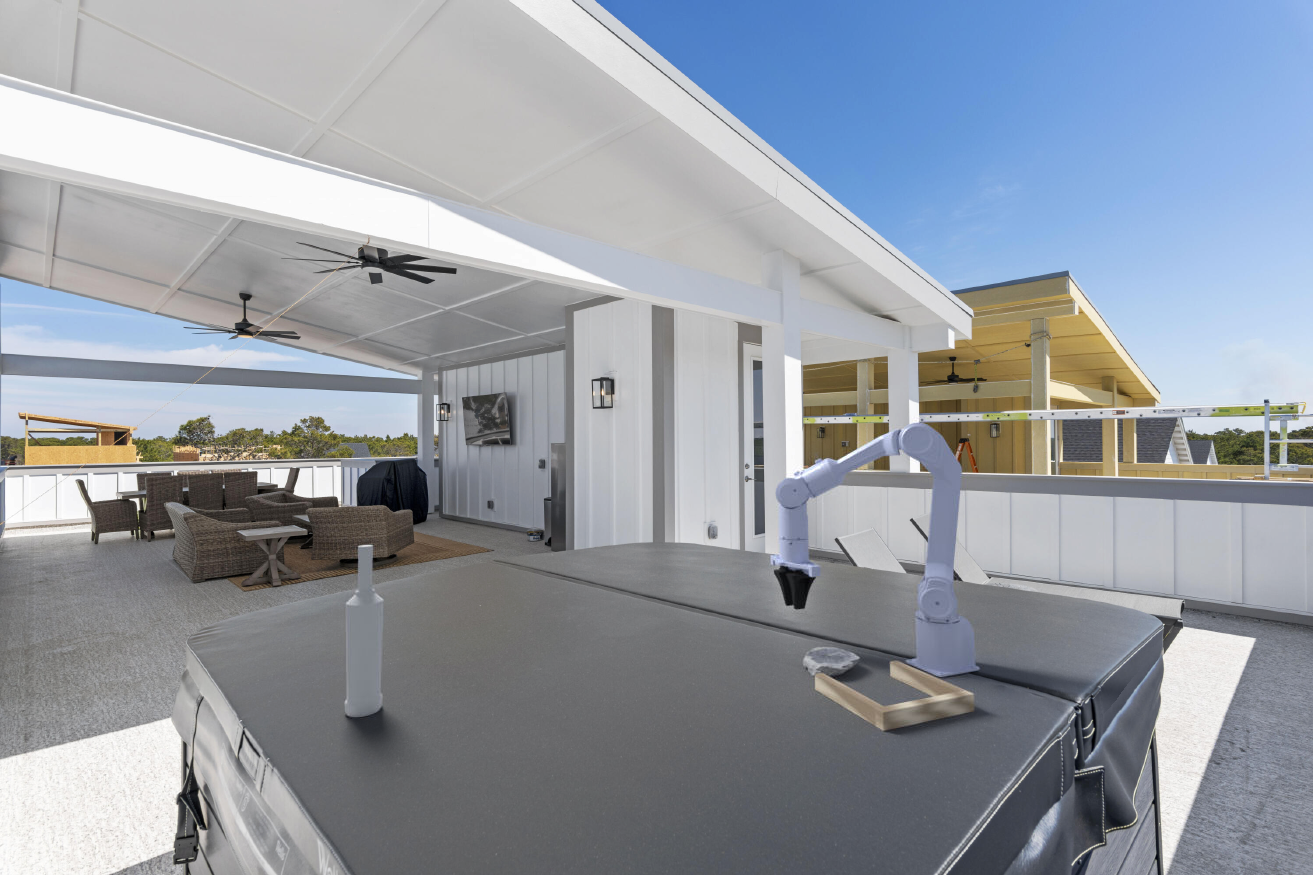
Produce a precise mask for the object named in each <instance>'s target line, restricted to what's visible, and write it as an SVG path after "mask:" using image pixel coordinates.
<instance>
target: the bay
mask: <svg viewBox="0 0 1313 875" xmlns="http://www.w3.org/2000/svg"><path fill="white" fill-rule="evenodd" d="M889 669H890V670H889V674H890V678H893V679H895V680H897V681H900V682H901V683H903V684H906V685H907V686H910V687H912V688H914V689H916V690H918V691H920V692H922V693H924V694H926V695H928V696H930V697H925V698H921V699H913V700H909V701H905V702H898V703H895V704H890V705H882V704H881V703H878V702H876V701H874V700H873V699H871V698H869V697H867V696H866V695H864V694H863V693H860V692H859V691H856V690H855V689H852V688H851V687H849V686H847V685H845V684H843V683H842V682H840V681H839V680H836V679H835V678H833V677H829V676H827V675H826V674H824V673H819V674H815V677H814V689H815V691H817V692H818V693H820V694H822V695H823V696H825V697H827V698H829V699H830V700H832V701H833V702H835V703H836V704H839V705H840V706H842V707H843V708H844V709H846V710H848V711H850V712H852V713H853V714H855V716H858V717H860V719H861V718H862V719H863V720H865V721H866V722H868V723H870V724H872V725H873V726H875V727H876V728H878V729H880V730H881V731H883V732H884V731H885V732H886V731H888V730H889V731H890V730H894V729H899V728H903V727H909V726H913V725H918V724H921V723H922V724H923V723H926V722H930V721H936V720H940V719H945V718H950V717H955V716H959V715H964V714H967V713H968V714H969V713H972V712H975V708H976V707H975V693H974V692H970V691H968V690H965V689H963V688H962V687H959V686H957V685H954V684H952V683H949V682H947V681H945V680H942V679H940V678H939V677H937V676H935V675H932V674H930V673H928V672H925V671H923V670H921V669H918V668H916V667H914V666H913V667H912V666H911V665H909V664H907V663H906V664H905V663H903V662H901V661H899V660H893V661H892V660H891V661H889Z"/></svg>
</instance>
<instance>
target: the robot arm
mask: <svg viewBox="0 0 1313 875" xmlns="http://www.w3.org/2000/svg"><path fill="white" fill-rule="evenodd" d="M949 446H950V445H948V443H947V441H946V440H945V438H944V437H943V435H942V434H940V433H939V432H938V431H936V429H934V428H933V427H932V426H930V425H929V424H926V423H924V422H913V423H909V424H908V425H906V426H905V427H904V428H903V429H901V428H898V429H895V430H892V431H889V432H887V433H885V434H882V435H879V436H877V437H876V438H874V439H872V441H869V442H867V443H865V444H864V445H862V446H860V447H858V448H856V449H855V450H854V451H851V452H850V453H848V454H846V455H845V456H843V457H840V458H839V459H837V460H835V459H832V458H829V457H827V458H825V459H822V458H818V459H816V460H815V461H814V463H815V464H813V465H812V466H810V467H807V468H806V469H804V470H802V471H799V470H797V471H795V472H794V473H793V475H794V477H786V478H784V479H783V480H782V481H780V482H779V483H778V485H777V486H776V488H775V498H776V500H777V502H778V548H779V551H778V553H779V554H774V555H773V554H771V555H770V566H771V565H772V566H778V567H779V568H778V569H773V574H774V575H775V578H776V579H777V582H778V584H779V588H780V590H781V592H782V597H783V600H784V604H785V606H786V607H790V606H793V609H794V610H804V609H805V608H806V606H807V600H808V597H809V592H810V590H811V588H812V585H813V583H814V582H815V580H816V578H817V577H822V574H821V572H822V571H821V568H822V567H821V565H818V564H816V563H814V562H813V561H811V560H810V557H809V556H810V552H809V550H810V549H809V544H810V543H809V516H808V503H807V502H808V501H809V500H810V498H811V499H815V498H817V497H819V496H821V495H823V494H825V493H827V492H829V491H830V490H834V489H835V488H837V487H839V486H841V485H842V484H843V483H844V480H845V476H846V475H847V474H849V473H851V472H852V471H854V470H857V469H859V468H861V467H863V466H866V465H868V464H870V463H871V462H872V463H873V461H875V460H878V459H880V458H882V457H889V456H891V457H893V456H901V453H900V451H901V450H902V452H903V453H904V454H905V455H907V456H908V457H910V458H912V459H914V460H916V461H917V462H919V463H921V464H922V466H923V467H924V468H925V469H926V470H927V471H928V472H929V473H930V475H931V476H932V477H933V479H932V480H933V481H932V491H931V504H930V513H929V523H928V524H929V525H928V526H929V527H928V535H927V544H926V545H927V546H926V548H927V549H926V559H925V566H924V575H923V578H922V579H921V580H920V582H918V586H917V606H918V609H917V611H915V613H914V614H915V646H916V649H915V650H916V657H915V658H911V659H905V663H906V665H909V666H911V667H912V666H913V668H916V669H918V670H920V671H923V672H925V673H927V674H930V675H932V676H934V677H937V678H944V677H949V676H955V675H960V674H966V673H971V672H976V671H980V670H981V669H980V666H977V665H976V648H975V646H976V645H975V630H974V628H973V626H972V624H971V622H970V621H969V620H968V619H967V618H966V617H964V616H962V615H959V613H957V610H958V606H959V605H958V603H959V602H958V599H957V597H956V595H955V594H956V591H955V589H954V569H955V568H954V565H955V554H956V543H957V532H958V531H957V530H958V521H959V511H960V510H959V509H960V501H961V500H960V499H961V498H960V497H961V487H962V476H963V470H962V469H963V468H962V465H961V463H960V462H959V460H958V459H957V457H956V456H955V454H954V453H953V451H952V450H951V448H950V447H949Z"/></svg>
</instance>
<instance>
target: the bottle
mask: <svg viewBox="0 0 1313 875" xmlns="http://www.w3.org/2000/svg"><path fill="white" fill-rule="evenodd" d="M373 557H374V545H373V544H363V545H358V546H357V559H358V562H357V573H358V574H357V589H356V590H355V594H354V595H353V596H352V597H351V598H350V599H349V600H348V601H346V602H345V639H346V640H345V641H346V642H345V649H346V650H345V652H346V655H345V657H346V659H345V661H346V664H345V665H346V699H345V701H344V711H345V714H346V716H348V717H351V718H361V717H366V716H367V717H368V716H371V715H373V714H375V713H378V712H379V711H380V710H381V708H382V704H383V694H382V693H381V690H382V689H381V688H382V687H381V684H382V664H383V663H382V658H383V657H382V655H383V629H384V628H383V627H384V626H383V624H384V602H385V600H384V598H382V597H381V596H380V595H378V593H376V590H375V588H373Z"/></svg>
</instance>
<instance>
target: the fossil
mask: <svg viewBox="0 0 1313 875" xmlns="http://www.w3.org/2000/svg"><path fill="white" fill-rule="evenodd" d="M860 659H861V657H860V656H858V655H857V654H855V653H854V652H851V651H849V650H846V649H843V648H838V647H836V646H824V647H820V646H817V647H813V648H812V649H810V650H808V651H807V652H806V653H805V656H804V658H803V660H802V665H803V666H804V667H805V668H807V670H808V673H809V674H810V675H811V676H812V677H813V678H815V674H819V673H824V674H826V675H827V676H829V677H831V678H833V677H835V676H839V675H842V674H845V673H846V672H848V671H849V670H850V669H852V668H854V667H855V666H856V665H857V664H858V663H859V662H860V661H861V660H860Z"/></svg>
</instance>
